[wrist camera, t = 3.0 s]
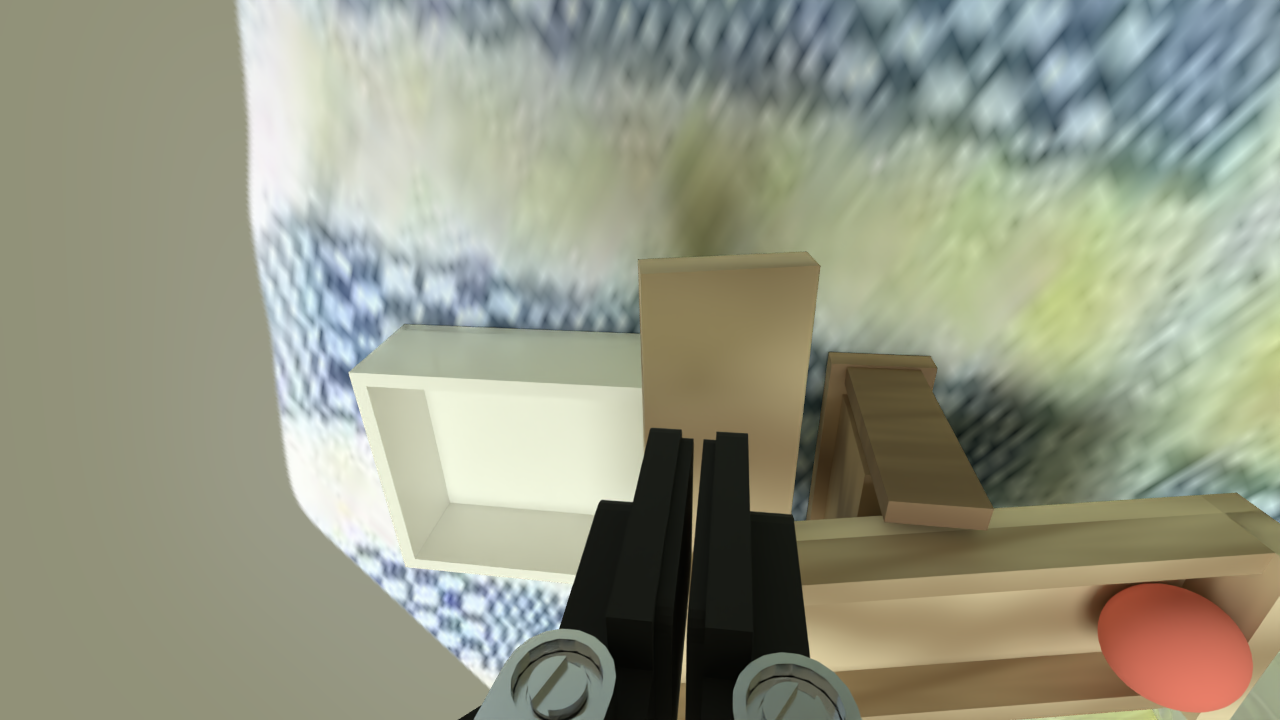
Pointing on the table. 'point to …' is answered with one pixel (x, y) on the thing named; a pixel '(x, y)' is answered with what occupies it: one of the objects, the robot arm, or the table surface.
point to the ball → (1175, 648)
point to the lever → (933, 529)
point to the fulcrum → (891, 448)
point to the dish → (501, 442)
